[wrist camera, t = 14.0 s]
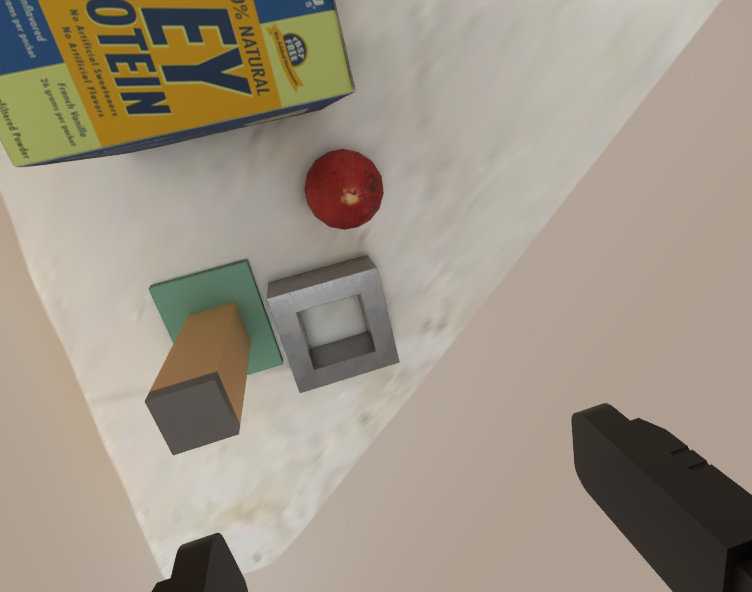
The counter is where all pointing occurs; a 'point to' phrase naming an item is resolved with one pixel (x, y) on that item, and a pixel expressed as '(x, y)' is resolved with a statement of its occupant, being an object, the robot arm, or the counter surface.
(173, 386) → the plug
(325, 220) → the red onion
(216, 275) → the mat
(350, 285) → the gray square frame
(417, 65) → the counter surface
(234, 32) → the protein box
